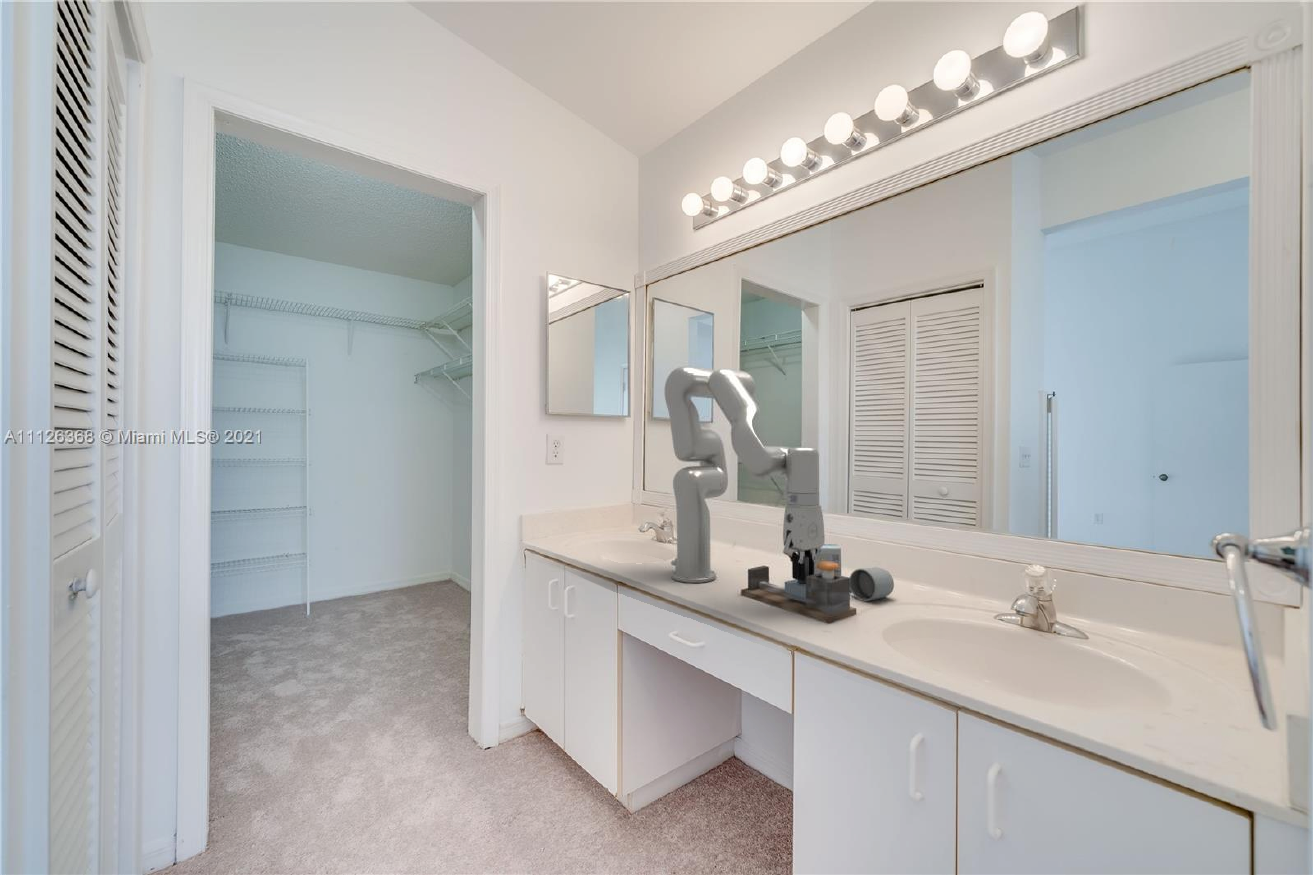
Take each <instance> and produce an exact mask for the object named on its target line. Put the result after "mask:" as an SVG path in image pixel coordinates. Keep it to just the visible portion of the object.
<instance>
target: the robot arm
mask: <svg viewBox="0 0 1313 875" xmlns="http://www.w3.org/2000/svg"><path fill="white" fill-rule="evenodd" d="M664 384H665V385H664V399H665V403H666V404H665V405H666V408H667V411H668V415H669V421H670V422H669V423H670V430H671V437H672V438H671V440H672V446H673V452H674V455H675V457H676V459H678V460H679V461H681V462H684V463H692V462H693V463H695V462H696V463H697V462H698V463H699V465H690V466H686V467H682V468H681V469H679V470H678V471H677V472H676V473H675V475H674V476H673V478H672V488H673V494H674V498H675V499H674V500H675V504H676V505H675V506H676V558H674V559H673V560H671V562H670V564H671V565H672V566H675V567H674V568H675V569H674V570H673V571H672V572H671V578H672V579H673V580H675V581H678V582H680V583H681V582H683V583H691V584H696V583H697V584H698V583H701V584H702V583H708V582H713V581H714V580H716V578H717V573H716V572H715V571H713V570H712V569H711V568H712V567H711V515H710V514H711V513H710V510H709V506H708V504H707V502H706V499H713V498H718V497H721V496H722V495H723V494H726V492H727V489H728V486H729V477H728V476H729V474H728V468H727V467H728V466H727V460H726V454H725V448H724V446H725V445H724V443H723V440H722V439H721V436H720V435H719V434H718V433H717V432H716V431H714V430H711V429H702V427H701V423H700V415H699V411H698V409H697V407H696V405H695V404H694V401H692V398H693V397H695V398H704V399H714V401H715V403H716V404H717V406H718V407H719V409H720V410H721V412H722V413H723V415H724V417H725V418H726V420H727V422H728V423H729V425H730V426H731V429H730V430H731V431H730V438H731V439H730V441H731V446H732V448H733V452H734V453H735V455H736V457H737V458H738V460H739V461H740V463H741V464H742V466H743V467H744V469H745V470H746V471H747V473H748V474H750V475H752V476H753V477H755V478H759V479H763V478H779V477H785V504H786V505H785V509H784V516H783V524H782V525H783V526H782V528H783V530H782V538H783V539H782V540H783V542H782V543H783V546H784V547H783V550H782V553H783V554H784V555H786V556H788V557H789V561H790V562H791V566H792V567H791V572H792V573H791V577H792V580H794V579H797V580H801V581H804V580H805V563H803V556H808V557H809V576H810V575H814V561H815V560H816V554H817V552H818V550H819V549H820V548H821V547H822V546H823V545H824V543H826V542H825V540H826V539H825V526H824V525H825V524H824V515H823V508H822V506H821V505H820V453H819V451H818V449H816V448H815V447H807V446H806V447H804V446H802V447H797V446H796V447H788V446H780V445H779V446H778V445H777V446H774V445H773V446H771V445H769V446H766V445H765V446H764V445H763V443H762V442H761V440H760V439H759V437H758V435H756V432H755V431H754V430H755V429H754V428H753V423H755V421H756V420H758V418H759V416H760V414H761V410H760V407H759V405H758V404H757V403H756V401H755V400H754V398H753V396H754V395H755V392H756V382H755V380H754V377H753V376H752V375H751V374H750V373H748V372H746V371H744V370H738V369H731V368H730V369H729V368H720V369H711V368H705V367H699V366H698V367H697V366H690V365H689V366H688V365H687V366H685V365H684V366H679V367H677V368H674V369H673V370H672V371H671V372H670V373H669V374H668V376H667V378H666V380H665V383H664ZM797 552H798V555H797Z"/></svg>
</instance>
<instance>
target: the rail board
mask: <svg viewBox="0 0 1313 875" xmlns="http://www.w3.org/2000/svg"><path fill="white" fill-rule="evenodd" d="M806 590H807V602H803V601H800V600H797V599H793V598H790V597H787V593H786V592H785V586H780V585H777V584H774V583H770V566H767V565H760V566H755V567H751V568H747V588H742V589H740V595H742V596H744V597H748V598H751V599H754V600H757V601H760V602H763V603H767V604H769V605H772V604H773V605H772V606H774V607H775V606H776V607H778V608H782V609H784V610H787V609H788V610H787V611H790V610H791V611H790V612H793V613H797V614H800V615H803V616H805V617H808V618H812V619H814V618H815V620H817V619H818V620H817V621H821V622H824V623H827V624H831V623H834V622H838V621H840V620H844V619H846V618H849V617H851V616H855V615H857V608H856V607H853V606H850V605H851V592H850V577H848V576H843V575H841V576H840V575H836V574H834V580H826V579H822V573H818V574H814V575H810V576H806Z"/></svg>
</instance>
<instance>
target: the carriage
mask: <svg viewBox="0 0 1313 875" xmlns="http://www.w3.org/2000/svg"><path fill="white" fill-rule="evenodd" d="M803 563H805V580H804V581H801V580H797V579H792V580H791V579H790V580H786V581H784V588H785V592H786V593H787V597H790V598H793V599H797V600H800V601H803V602H807V590H806V576H809V557H808V556H803Z"/></svg>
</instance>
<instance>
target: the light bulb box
mask: <svg viewBox="0 0 1313 875" xmlns="http://www.w3.org/2000/svg"><path fill="white" fill-rule="evenodd" d="M841 548H842V547H840V546H839V545H838V544H836V543H834V542H833V543H832V542H831V543H826V542H824V545H823V546H822V547H821V548H820V549H819V550H818V552H817V554H816V560H815V561H814V574H818V573H822V570H821V569H818V565H817V563H818V562H822V561H828V562H835V563H837V564H838V570H834V574H836V575H840V576H842V549H841ZM796 553H797V555H798V552H796Z"/></svg>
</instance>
